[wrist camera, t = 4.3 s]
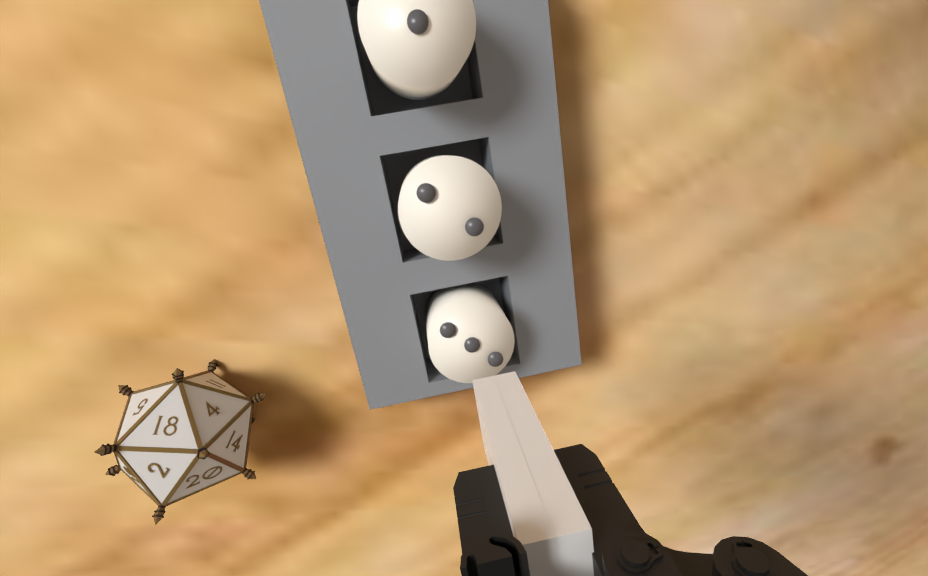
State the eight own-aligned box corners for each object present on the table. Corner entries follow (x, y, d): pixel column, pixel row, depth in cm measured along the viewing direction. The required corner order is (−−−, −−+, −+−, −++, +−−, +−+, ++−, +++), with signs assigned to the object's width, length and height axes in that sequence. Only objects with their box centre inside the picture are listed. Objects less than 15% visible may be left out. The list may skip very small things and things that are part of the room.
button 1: (357, 2, 22) (343, -40, 17) (453, -12, 23) (466, -58, 18) (379, 106, 24) (372, 95, 19) (469, 92, 24) (484, 76, 19)
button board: (276, 0, 24) (251, -28, 20) (521, -37, 25) (541, -70, 21) (374, 378, 32) (369, 409, 28) (561, 340, 33) (581, 364, 29)
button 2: (391, 163, 25) (387, 165, 20) (477, 148, 25) (494, 146, 20) (409, 248, 26) (409, 270, 21) (490, 233, 27) (508, 251, 22)
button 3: (418, 286, 29) (420, 314, 24) (492, 272, 29) (509, 296, 24) (432, 354, 31) (437, 392, 26) (502, 339, 31) (520, 374, 26)
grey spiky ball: (251, 355, 34) (299, 373, 26) (237, 468, 33) (282, 520, 26) (102, 353, 28) (108, 375, 21) (82, 489, 27) (80, 565, 20)
